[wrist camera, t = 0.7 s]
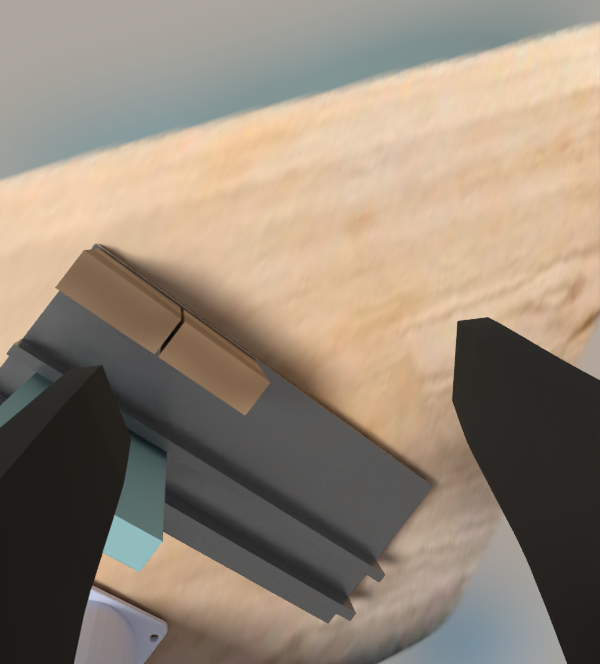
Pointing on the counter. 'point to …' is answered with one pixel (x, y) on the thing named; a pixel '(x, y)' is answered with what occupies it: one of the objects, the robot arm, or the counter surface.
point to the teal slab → (137, 494)
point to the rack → (241, 462)
